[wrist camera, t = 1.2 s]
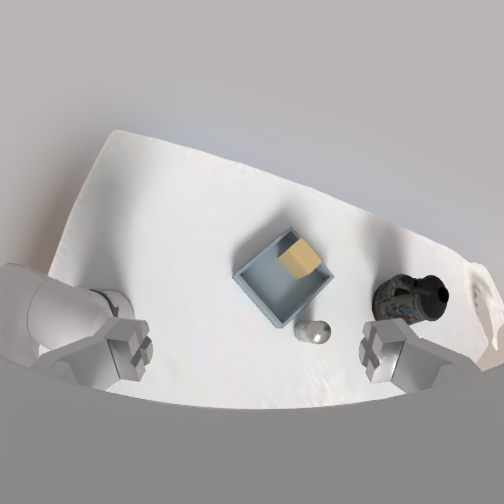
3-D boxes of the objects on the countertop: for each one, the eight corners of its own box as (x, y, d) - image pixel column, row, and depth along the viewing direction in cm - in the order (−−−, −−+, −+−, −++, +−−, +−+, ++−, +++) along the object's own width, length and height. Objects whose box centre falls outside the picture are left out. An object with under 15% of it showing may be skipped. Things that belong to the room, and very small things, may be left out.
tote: (276, 327, 73) (282, 328, 67) (232, 277, 75) (234, 274, 69) (325, 280, 79) (334, 276, 73) (285, 233, 80) (291, 226, 74)
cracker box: (296, 280, 76) (309, 274, 67) (277, 258, 77) (287, 249, 68) (308, 268, 78) (322, 261, 68) (290, 247, 78) (301, 236, 69)
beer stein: (408, 329, 80) (463, 326, 56) (362, 332, 77) (416, 332, 53) (408, 281, 84) (460, 266, 60) (362, 279, 81) (414, 261, 57)
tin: (302, 345, 73) (319, 348, 62) (289, 330, 74) (304, 332, 62) (316, 331, 75) (335, 332, 63) (304, 317, 75) (321, 316, 64)
